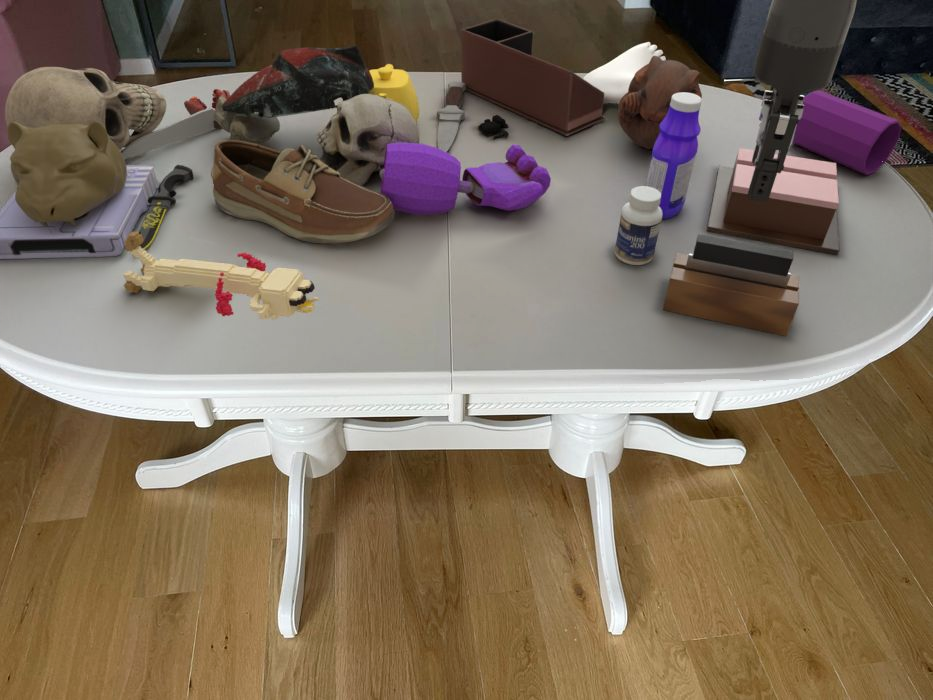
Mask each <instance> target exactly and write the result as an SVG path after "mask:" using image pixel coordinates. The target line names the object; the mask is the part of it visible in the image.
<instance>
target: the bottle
mask: <svg viewBox="0 0 933 700" xmlns="http://www.w3.org/2000/svg"><path fill="white" fill-rule="evenodd" d="M702 100H703V99H701V98H700V97H699V96H698V95H696V94H692V93H687V92H681V93H676V94H674V95H672V98H671V102H670V107H669V110H668V113H667V115H666V117H665V118H664V120H663V121H662V122H661V123H660V131H661V132H660V134H659V136H658V138H657V140H656V142H655V145H654V148H653V149H652V155H651V159H650V164H649V169H648V173H647V180H646V183H645V184H646V185H645V186H648V187H652V188H655V189H657V190H658V191H659V192H660V193H661V201H660V205H659V207H660V208H661V210H662V213H663V216H662V219H670V218H672V217H674V216H676V215H677V214H679V212H680V211H681V210H682V208H683V207H684V204H685V202H686V198H687V193H688V189H689V184H690V180H691V177H692V172H693V168H694V164H695V161H696V160H695V159H696V156H697V153H698V148H699V140H698V136H699V135H700V134H701V131H702V130H701V129H702V128H701V126H700V122H699V115H700V111H701V105H702Z"/></svg>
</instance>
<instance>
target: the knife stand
mask: <svg viewBox="0 0 933 700" xmlns="http://www.w3.org/2000/svg"><path fill="white" fill-rule="evenodd" d="M688 255H689V254H686V253H682V252H676V253H675V257H674V260H673V265H672V268H671V273H670V277H669V280H668V285H667V290H666V293H665V298H664V302H663V307H662V311H665V312H671V313H675V314H679V315H685V316H688V317H694V318H698V319H703V320H709V321H713V322H716V323H717V322H718V323H722V324H726V325H732V326H737V327H741V328H746V329H750V330H755V331H759V332H764V333H769V334H774V335H779V336H783V337H787V335H788V333H789V330H790V328H791V325H792V323H793V320H794V318H795V315H796V313H797V311H798V307H799V305H800V291H799V289H800V276H799V275H795V274H791V276H790V279H789V282H788V284H787V287H786V289H782V288H777V287H772V286H767V285H762V284H756V283H751V282H746V281H741V280H736V279H731V278H726V277H721V276H716V275H711V274H706V273H701V272H696V271H691V270H686V269H685V267H686V263H687V259H688Z"/></svg>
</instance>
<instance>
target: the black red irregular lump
mask: <svg viewBox="0 0 933 700" xmlns="http://www.w3.org/2000/svg"><path fill="white" fill-rule="evenodd" d="M364 60H365V59H364V58H363V55H362V53H361V50H360V48H359V46H358V45H357V44H354V45H350V46H346V47H336V48H335V47H333V48H332V47H331V48H328V47H298V48H297V47H296V48H287V49H283V50H282V51H280V52H279V53H278V55H277V56H275V59H274V60H273V63H271V64H270V65H268V66H265V67H264V68H262V69H260V70H259V71H257V72H256V73H254V74H253V75H252V76H250V77H249V78H248V79H246V80H245V81H243V83H241V84H240V85H239V86H238V87H237V88H236V89H235V90H234V91H233V92H232V93H231V94H230V97H229V98H228V99H227V100H226V101H225V102H224V103H223V104H222V109H223V111H228V112H230V113H234V114H237V115H243V116H247V117H258V118H262V117H267V118H273V117H277V118H280V117H288V116H293V115H301V114H308V113H313V112H320V111H326V110H331V109H337V105H338V104H337V105H336V103H335V101H336V100H338V99H342V101H346V100H349V99H351V98H353V97H355V96H358V95H360V94H369V92H370V91H371V90H372V89H373V88H374V83H373V79H372V76H371V74H370V71H369V68H368V66H367V65H366V63H365V61H364ZM254 112H259V114H258V115H257V114H254Z"/></svg>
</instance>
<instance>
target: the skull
mask: <svg viewBox="0 0 933 700" xmlns="http://www.w3.org/2000/svg"><path fill="white" fill-rule="evenodd" d="M316 140H317V143H318V144H319V145H320V146H321V148H322V155H321V157H320V159H319V160H320V161H321V162H323V163H324V164H325V165H328V167H330V168H331V169H333V170H335V171H337V172H339V173H340V175H341V176H343V177H345V178H346V179H348V180H351V181H353V182H355V183H357V184H359V185H361V186H364V185H365V184H366V183H368V181H369V179H370V177H371V175H372V174H373V173H374V172H380V171H381V170H382V169H383V167H384V160H385V153H386V147H387V144H391V143H416V144H420V135H419V127H418V124H417V122H415V119H414V117H413V115H412V114H411V112H410V111H409V109H408V108H406V107H405V106H404V105H403V104H401V103H399V102H396V101H394V100H391V99H387V98H383V97H380V96H378V95H373V94H360V95H358V96H355V97H353V98H351V99H349V100H346V101H343V100H341V101H339V102H338V104H337V108H336V113H335V114H333V115H332V116H331V117H330V119H329V121H328V122H327V123H326V125H325V126H324V127H323V129H322V130H320V132H319V133H317V134H316Z"/></svg>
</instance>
